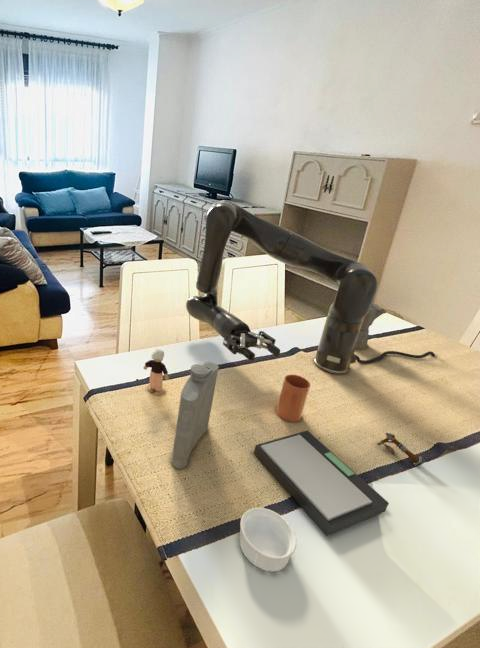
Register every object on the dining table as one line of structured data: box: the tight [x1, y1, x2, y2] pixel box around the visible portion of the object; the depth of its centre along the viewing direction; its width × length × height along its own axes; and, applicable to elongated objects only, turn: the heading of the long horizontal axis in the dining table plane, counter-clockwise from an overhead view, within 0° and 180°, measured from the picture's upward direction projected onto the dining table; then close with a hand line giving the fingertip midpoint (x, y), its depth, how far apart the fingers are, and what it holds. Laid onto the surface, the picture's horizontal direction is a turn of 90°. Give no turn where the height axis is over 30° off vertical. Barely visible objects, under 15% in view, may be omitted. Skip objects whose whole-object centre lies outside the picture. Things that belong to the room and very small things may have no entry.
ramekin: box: [239, 507, 297, 573], centre depth 65 cm, size 9×9×4 cm
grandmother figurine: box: [143, 348, 170, 396], centre depth 102 cm, size 8×4×13 cm, turn 65°
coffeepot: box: [355, 302, 387, 350], centre depth 133 cm, size 15×9×18 cm, turn 44°
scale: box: [253, 430, 390, 537], centre depth 79 cm, size 15×20×3 cm
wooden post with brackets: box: [376, 431, 423, 467], centre depth 87 cm, size 2×8×4 cm, turn 48°
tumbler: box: [276, 374, 311, 423], centre depth 97 cm, size 6×6×10 cm
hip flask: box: [170, 361, 220, 470], centre depth 83 cm, size 16×4×20 cm, turn 148°
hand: (266, 355), depth 104 cm, fingers open, 8 cm apart
